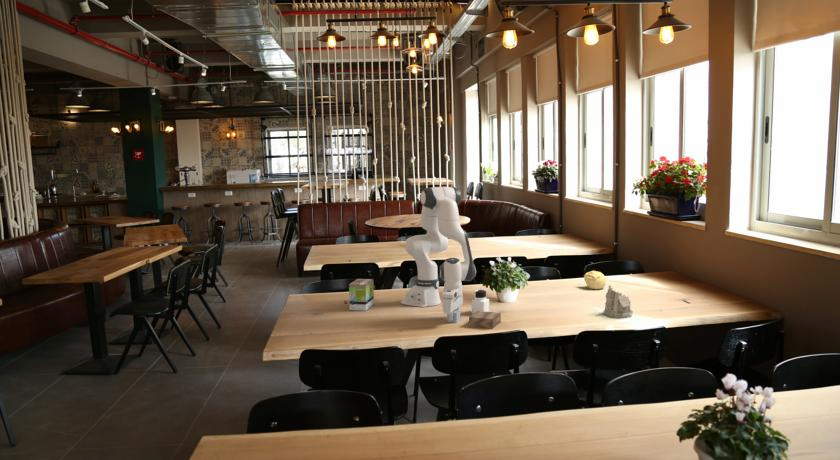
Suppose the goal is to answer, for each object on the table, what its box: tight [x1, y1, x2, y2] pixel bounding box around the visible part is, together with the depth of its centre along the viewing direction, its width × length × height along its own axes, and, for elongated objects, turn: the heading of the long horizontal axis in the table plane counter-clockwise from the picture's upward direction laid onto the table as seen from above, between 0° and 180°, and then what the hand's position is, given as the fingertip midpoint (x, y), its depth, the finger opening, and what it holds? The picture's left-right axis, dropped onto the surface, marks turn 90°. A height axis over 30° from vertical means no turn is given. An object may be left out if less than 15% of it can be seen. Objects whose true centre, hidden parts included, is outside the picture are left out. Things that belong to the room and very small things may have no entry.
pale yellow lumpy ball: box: [583, 270, 607, 290], centre depth 367 cm, size 12×12×11 cm
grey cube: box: [446, 309, 461, 324], centre depth 305 cm, size 5×5×5 cm
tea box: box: [348, 278, 375, 312], centre depth 337 cm, size 15×10×15 cm
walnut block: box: [468, 311, 502, 329], centre depth 298 cm, size 12×12×5 cm
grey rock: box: [603, 285, 634, 319], centre depth 310 cm, size 16×16×15 cm
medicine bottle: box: [470, 289, 490, 315], centre depth 319 cm, size 7×7×12 cm
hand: (453, 317), depth 305 cm, fingers closed on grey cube, 5 cm apart
